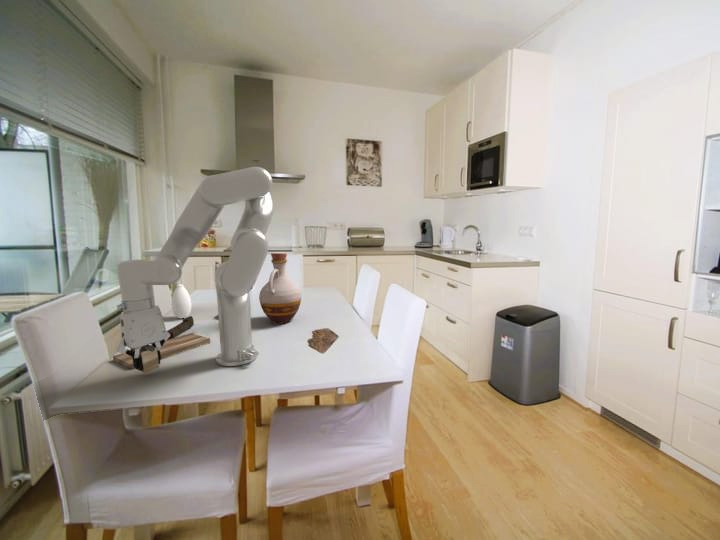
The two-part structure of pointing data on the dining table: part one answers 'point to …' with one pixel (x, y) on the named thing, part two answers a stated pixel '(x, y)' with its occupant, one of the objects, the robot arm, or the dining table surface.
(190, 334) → the board
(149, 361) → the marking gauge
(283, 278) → the jug
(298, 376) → the dining table surface
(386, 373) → the dining table surface
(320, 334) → the wooden fragment
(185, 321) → the hand tool
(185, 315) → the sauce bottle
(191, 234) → the robot arm
